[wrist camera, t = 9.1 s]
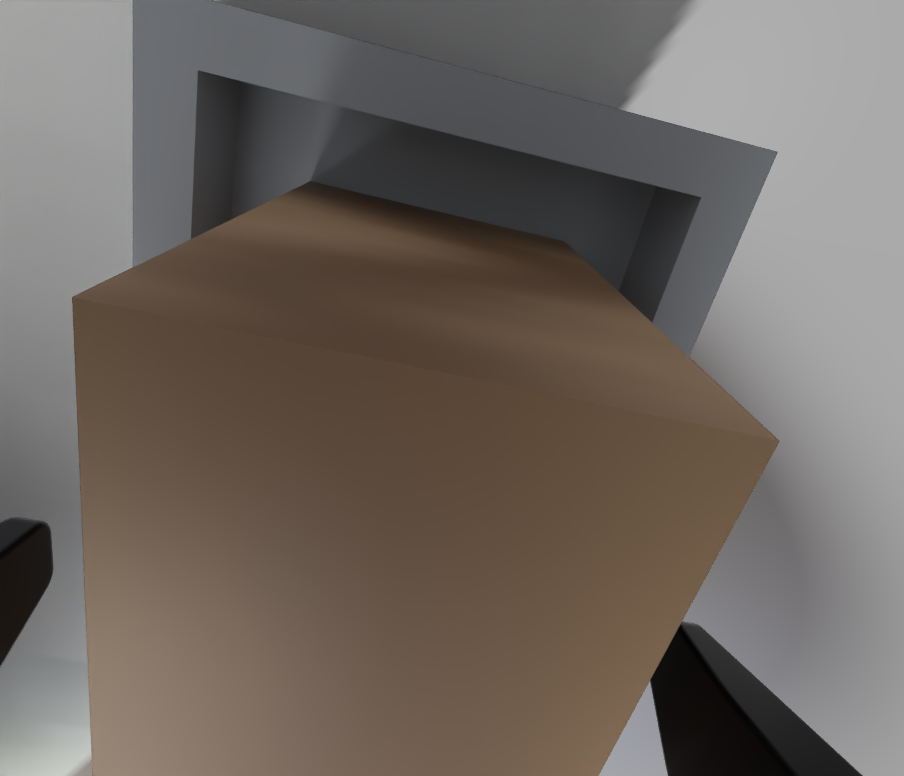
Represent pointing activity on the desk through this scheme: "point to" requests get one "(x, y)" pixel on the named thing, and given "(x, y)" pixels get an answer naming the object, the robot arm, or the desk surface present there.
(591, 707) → the walnut block
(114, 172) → the desk surface
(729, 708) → the robot arm
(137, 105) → the slot tray
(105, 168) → the desk surface
